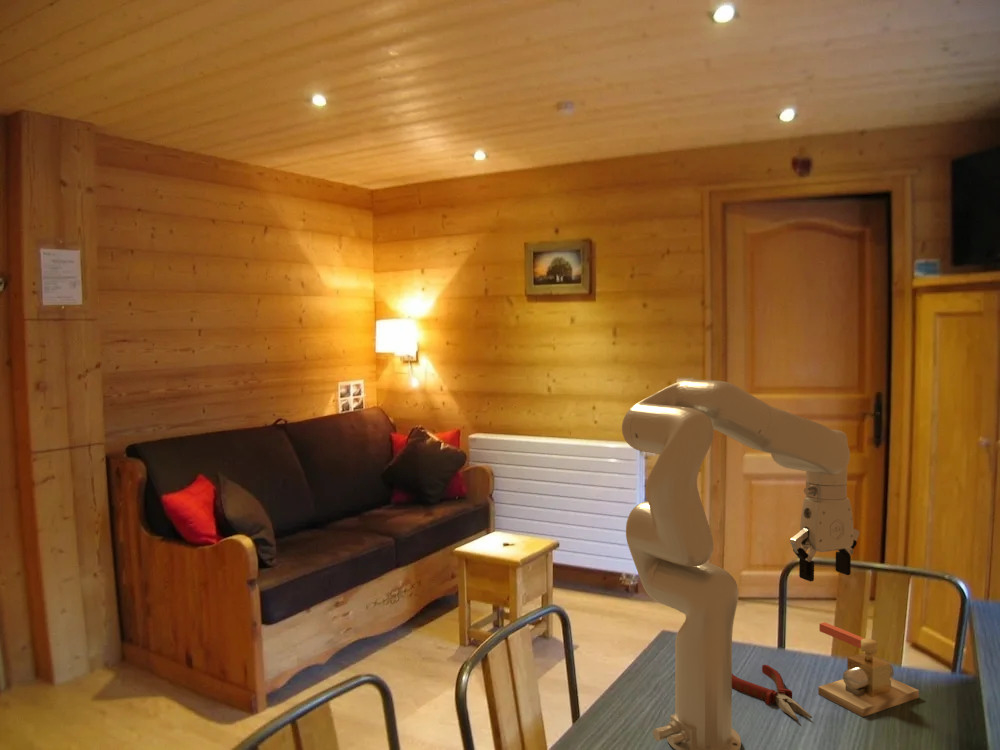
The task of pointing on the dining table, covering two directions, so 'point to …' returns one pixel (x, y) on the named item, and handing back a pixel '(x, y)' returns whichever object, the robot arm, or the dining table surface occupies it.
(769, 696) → the pliers
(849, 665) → the valve body
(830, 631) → the valve lever
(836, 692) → the mounting board
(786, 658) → the dining table surface
